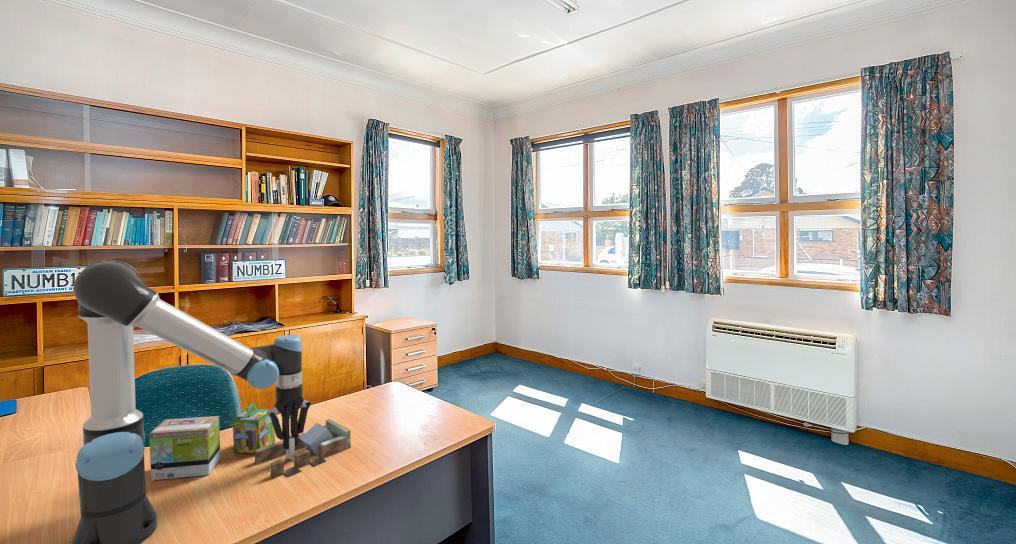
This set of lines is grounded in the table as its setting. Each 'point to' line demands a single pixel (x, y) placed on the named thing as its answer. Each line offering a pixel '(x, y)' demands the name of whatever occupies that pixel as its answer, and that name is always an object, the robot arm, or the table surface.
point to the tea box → (184, 447)
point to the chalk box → (252, 430)
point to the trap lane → (303, 457)
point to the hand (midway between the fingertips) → (290, 457)
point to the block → (316, 438)
